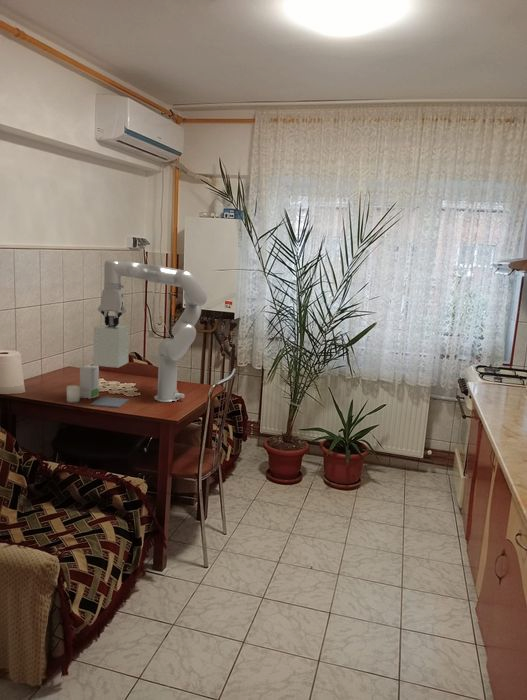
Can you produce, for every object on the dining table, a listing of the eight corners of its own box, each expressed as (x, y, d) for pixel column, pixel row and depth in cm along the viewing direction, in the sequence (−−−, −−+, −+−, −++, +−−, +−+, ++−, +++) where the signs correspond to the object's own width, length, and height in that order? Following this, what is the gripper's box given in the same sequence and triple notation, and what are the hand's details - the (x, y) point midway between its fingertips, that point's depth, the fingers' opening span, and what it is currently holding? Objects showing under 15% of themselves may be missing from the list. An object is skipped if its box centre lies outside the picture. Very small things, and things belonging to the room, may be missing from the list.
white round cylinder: (81, 399, 265) (81, 385, 264) (76, 402, 260) (77, 388, 258) (69, 398, 266) (69, 384, 264) (64, 401, 260) (64, 387, 259)
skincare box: (90, 399, 267) (91, 368, 264) (78, 397, 268) (78, 367, 265) (99, 395, 275) (99, 365, 272) (87, 394, 276) (87, 364, 273)
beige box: (128, 362, 265) (129, 315, 262) (118, 367, 253) (119, 318, 249) (104, 360, 267) (105, 313, 263) (93, 365, 254) (93, 316, 250)
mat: (128, 400, 269) (128, 399, 269) (118, 408, 255) (118, 406, 255) (101, 398, 270) (101, 396, 270) (90, 405, 256) (90, 404, 256)
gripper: (132, 287, 256) (131, 325, 259) (98, 285, 257) (97, 323, 260) (126, 288, 249) (125, 327, 252) (92, 286, 250) (91, 325, 253)
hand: (111, 325), depth 256 cm, fingers closed on beige box, 3 cm apart
